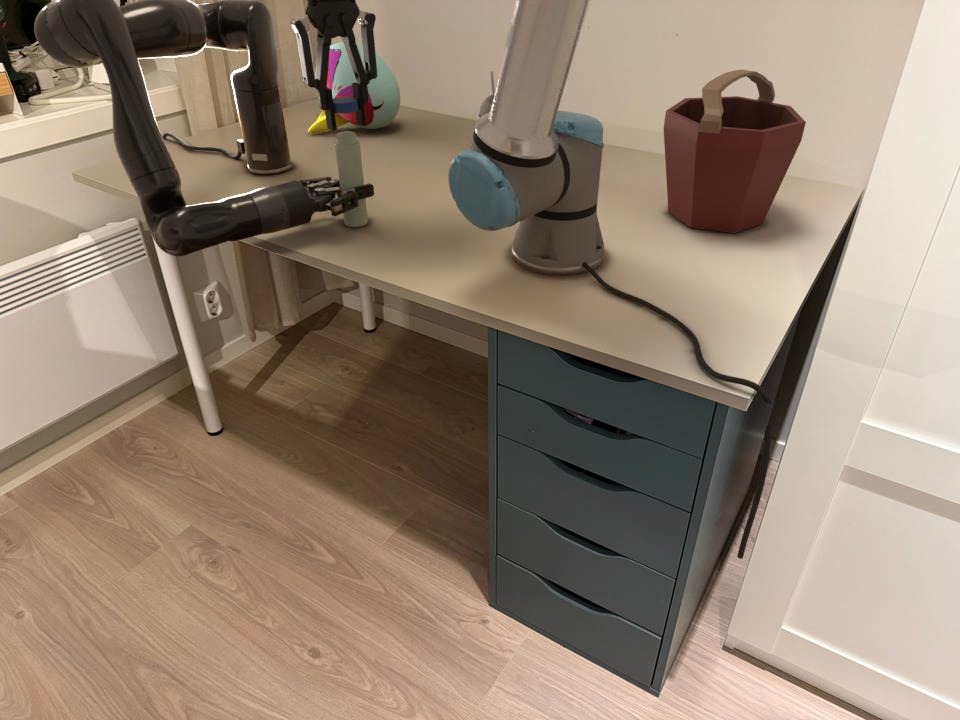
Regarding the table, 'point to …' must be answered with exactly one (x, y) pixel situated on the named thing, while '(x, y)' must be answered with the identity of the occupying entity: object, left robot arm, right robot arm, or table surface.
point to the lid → (345, 105)
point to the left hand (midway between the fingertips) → (365, 185)
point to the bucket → (728, 154)
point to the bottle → (351, 174)
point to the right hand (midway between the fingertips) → (346, 126)
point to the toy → (379, 91)
